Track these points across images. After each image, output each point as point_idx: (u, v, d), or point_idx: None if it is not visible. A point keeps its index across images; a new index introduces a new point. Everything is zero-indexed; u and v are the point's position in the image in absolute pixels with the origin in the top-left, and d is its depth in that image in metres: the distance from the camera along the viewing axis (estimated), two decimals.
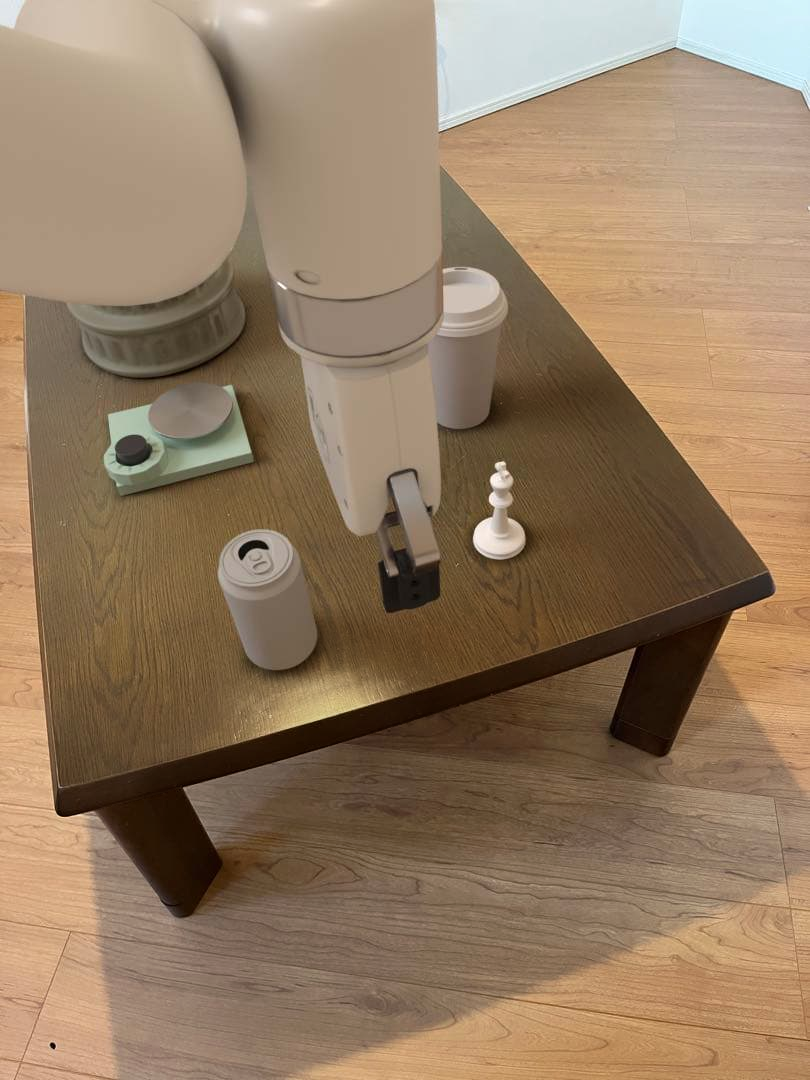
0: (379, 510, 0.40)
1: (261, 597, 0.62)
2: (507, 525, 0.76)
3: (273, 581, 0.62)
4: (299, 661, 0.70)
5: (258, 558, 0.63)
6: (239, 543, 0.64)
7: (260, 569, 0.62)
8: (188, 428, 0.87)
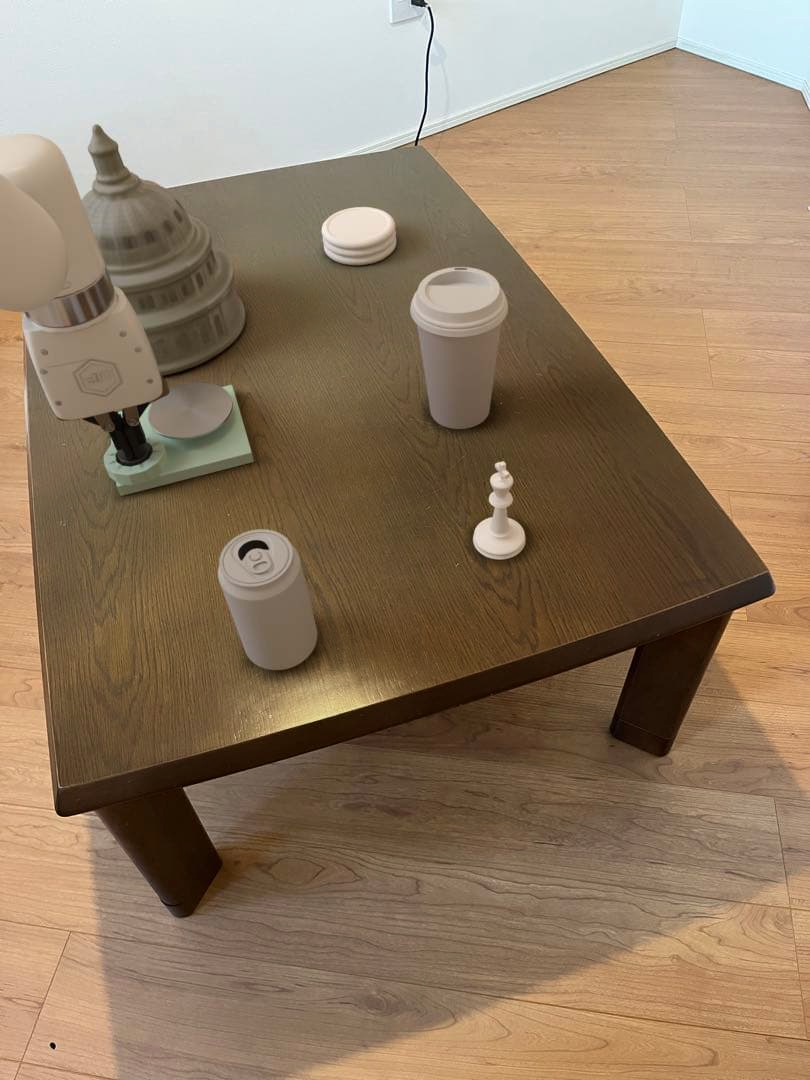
0: None
1: (261, 597, 0.62)
2: (507, 525, 0.76)
3: (273, 581, 0.62)
4: (299, 661, 0.70)
5: (258, 558, 0.63)
6: (239, 543, 0.64)
7: (260, 569, 0.62)
8: (188, 428, 0.87)
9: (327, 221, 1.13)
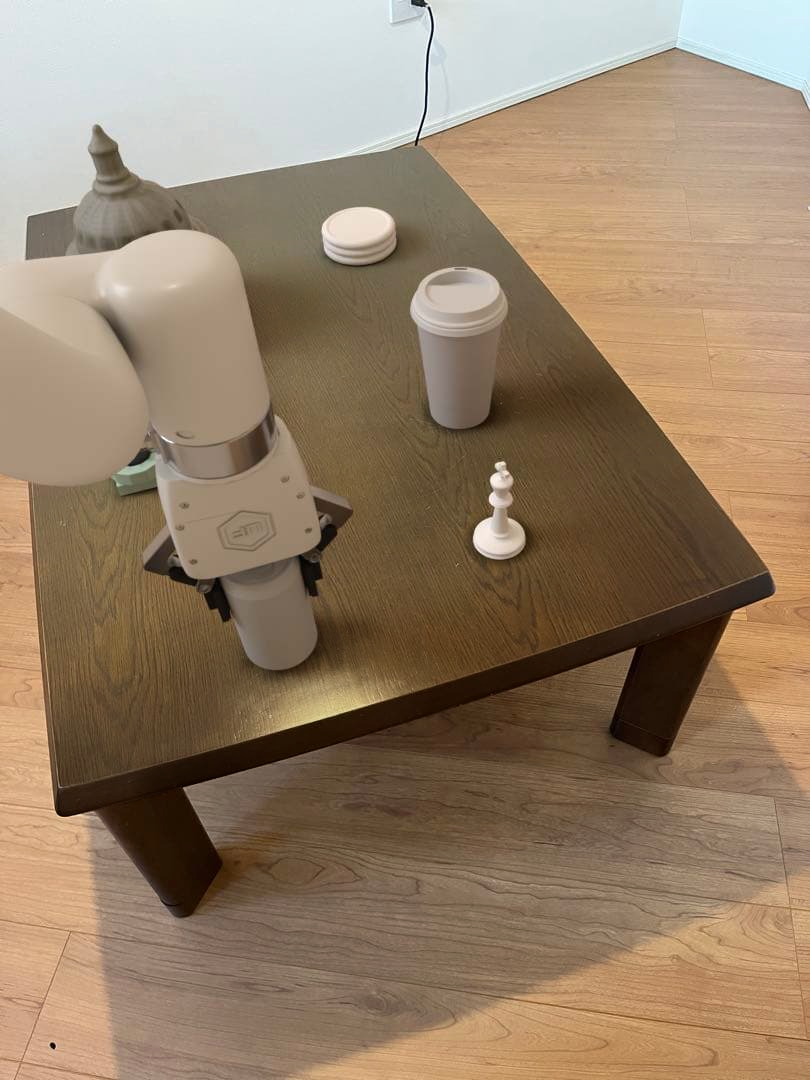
0: None
1: (261, 597, 0.62)
2: (507, 525, 0.76)
3: (273, 581, 0.62)
4: (299, 661, 0.70)
5: None
6: None
7: (260, 569, 0.62)
8: None
9: (327, 221, 1.13)
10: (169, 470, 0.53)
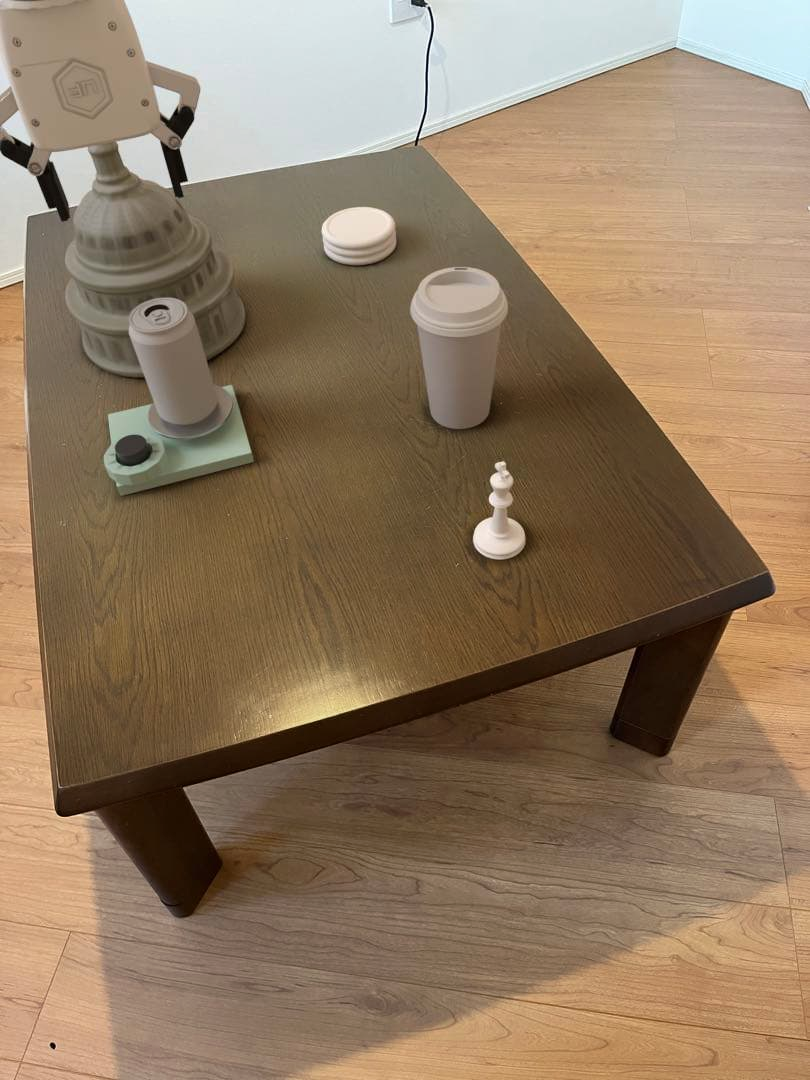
0: (155, 94, 0.65)
1: (161, 342, 0.78)
2: (507, 525, 0.76)
3: (170, 328, 0.78)
4: (200, 417, 0.86)
5: (160, 315, 0.80)
6: (145, 306, 0.81)
7: (160, 321, 0.79)
8: (188, 428, 0.87)
9: (327, 221, 1.13)
10: (1, 4, 0.58)
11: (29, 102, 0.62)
